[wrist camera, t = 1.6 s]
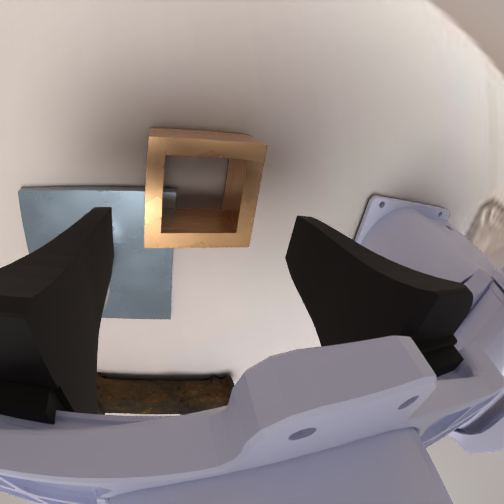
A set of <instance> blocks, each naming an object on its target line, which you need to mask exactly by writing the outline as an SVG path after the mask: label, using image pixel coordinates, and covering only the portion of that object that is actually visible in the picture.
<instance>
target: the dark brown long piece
mask: <svg viewBox="0 0 504 504" xmlns="http://www.w3.org/2000/svg"><path fill="white" fill-rule="evenodd" d="M234 386H235V385H234V383H233V380H232V378H231V376H229V375H228V376H226V377H225V378H223V379H219V378H217V377H215V376H213V377H212V378H211V379H209V380H192V381H163V380H156V381H151V380H150V381H148V380H116V379H109V378H103V377H102V375H101V374H100V373H98V372H97V414H99V415H104V414H105V413H129V414H181V415H186V414H191V413H196V412H201V411H205V410H210V409H214V408H219V407H223V406H227V405H228V403H229V399H230V396H231V392H232V388H233V387H234Z"/></svg>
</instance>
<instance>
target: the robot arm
mask: <svg viewBox="0 0 504 504" xmlns="http://www.w3.org/2000/svg"><path fill="white" fill-rule="evenodd" d="M381 202H382V203H381ZM380 203H381V205H379V204H380ZM449 216H450V211H449V210H448V209H446V208H441V207H436V206H431V205H426V204H421V203H416V202H411V201H405V200H400V199H394V198H389V197H383V196H377V195H376V196H373V197H371V198H370V200H369V203H368V205H367V208H366V211H365V214H364V217H363V219H362V222H361V225H360V227H359V230H358V233H357V235H356V238H355V241H353V240H352V239H350V238H348V237H347V236H345V235H343V234H342V233H340V232H338V231H337V230H335V229H333V228H332V227H330V226H328V225H327V224H325V223H323V222H321V221H319V220H317V219H315V218H312V217H306V216H297V218H296V222H295V225H294V229H293V233H292V236H291V240H290V243H289V247H288V250H287V254H286V257H285V258H286V262H287V265H288V269H289V272H290V275H291V278H292V280H293V282H294V284H295V286H296V288H297V290H298V292H299V294H300V296H301V298H302V300H303V302H304V304H305V307H306V309H307V311H308V313H309V315H310V317H311V319H312V321H313V323H314V326H315V328H316V331H317V334H318V337H319V340H320V343H321V346H322V347H314V348H306V349H297V350H293V351H289V352H285V353H281V354H277V355H273V356H270V357H268V358H266V359H265V360H263V361H261V362H259V363H258V364H256V365H254V366H252V367H251V368H249V369H247V370H246V371H245V372H244V374H243V375H242V376H241V378H240V379H239V380H238V382H237V383H236V384H235V386H234V387H233V388H232V392H231V396H230V399H229V403H228V405H227V406H223V407H219V408H214V409H210V410H205V411H201V412H196V413H191V414H186V415H180V416H116V415H99V414H97V350H98V336H99V328H100V322H101V317H102V313H103V309H104V304H105V300H106V296H107V292H108V288H109V284H110V280H111V275H112V268H113V260H114V243H113V226H112V207H95V208H94V209H92V210H91V211H89V212H88V213H87V214H86V215H84V216H83V217H82V218H81V219H79V220H78V221H77V222H75V223H74V224H73V225H72V226H70V227H69V228H68V229H66V230H65V231H64V232H62V233H61V234H59V235H58V236H57V237H55V238H54V239H53V240H51V241H50V242H48V243H47V244H45V245H44V246H42V247H40V248H39V249H37V250H35V251H34V252H32V253H30V254H29V255H27V256H25V257H23V258H21V259H19V260H17V261H15V262H13V263H11V264H9V265H7V266H4V267H2V268H0V491H1V492H4V493H7V494H9V495H12V496H15V497H19V498H22V499H25V500H29V501H32V502H35V503H39V504H453V502H452V500H451V498H450V496H449V494H448V492H447V490H446V488H445V486H444V484H443V482H442V480H441V478H440V476H439V474H438V472H437V470H436V468H435V466H434V464H433V462H432V460H431V458H430V456H429V454H428V452H427V450H426V447H428V446H430V445H432V444H433V443H435V442H436V441H438V440H440V439H441V438H443V437H445V436H446V435H447V436H448V437H450V438H451V439H453V440H454V441H455V442H457V443H458V444H459V445H460V446H461V447H462V448H463V449H464V450H465V451H466V452H467V453H470V454H474V453H487V452H495V451H503V450H504V267H502V268H499V267H497V268H496V269H495V270H494V267H493V265H492V263H491V261H490V260H489V258H488V257H487V256H486V255H485V254H484V253H483V252H482V251H481V250H479V249H478V248H477V247H476V246H475V245H474V244H473V243H472V242H470V241H469V240H468V239H467V238H466V237H465V236H463V235H462V234H461V233H460V232H459V231H458V230H456V229H455V228H454V227H453V226H452V225H450V224H449V223H448V222H447V221H448V218H449Z"/></svg>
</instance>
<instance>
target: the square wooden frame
mask: <svg viewBox="0 0 504 504" xmlns="http://www.w3.org/2000/svg"><path fill="white" fill-rule="evenodd" d="M266 149H267V145H266V144H264V143H262V142H260V141H258V140H256V139H254V138H253V137H251V136H249V135H246V134H237V133H227V132H216V131H204V130H189V129H170V128H149V136H148V148H147V162H146V180H145V206H144V248H205V247H249V243H250V238H251V232H252V227H253V221H254V215H255V210H256V204H257V199H258V193H259V188H260V182H261V177H262V171H263V165H264V160H265V154H266ZM165 155H176V156H198V157H215V158H229V164H228V171H227V178H226V185H225V192H224V200H223V207H222V209H174V208H162V196H163V180H164V167H165Z"/></svg>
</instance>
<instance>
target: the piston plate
mask: <svg viewBox="0 0 504 504" xmlns="http://www.w3.org/2000/svg"><path fill="white" fill-rule="evenodd" d="M18 196H19V203H20V210H21V216H22V221H23V227H24V232H25V237H26V242H27V246H28V251H29V254H30V253H32V252H34V251H35V250H37V249H39V248H40V247H42V246H44V245H45V244H47V243H48V242H50V241H51V240H53V239H54V238H55V237H57V236H58V235H59V234H61V233H62V232H64V231H65V230H66V229H68V228H69V227H70V226H72V225H73V224H74V223H75V222H77V221H78V220H79V219H81V218H82V217H83V216H84V215H86V214H87V213H88V212H89V211H91V210H92V209H94V208H95V207H112V226H113V243H114V260H113V268H112V275H111V280H110V284H109V288H108V292H107V296H106V300H105V304H104V309H103V313H102V317H101V318H129V319H171V277H172V252H173V248H144V206H145V187H100V186H66V187H22V188H21V189H20V190H19V191H18ZM175 204H176V189H173V188H163V196H162V208H174V209H175Z"/></svg>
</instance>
